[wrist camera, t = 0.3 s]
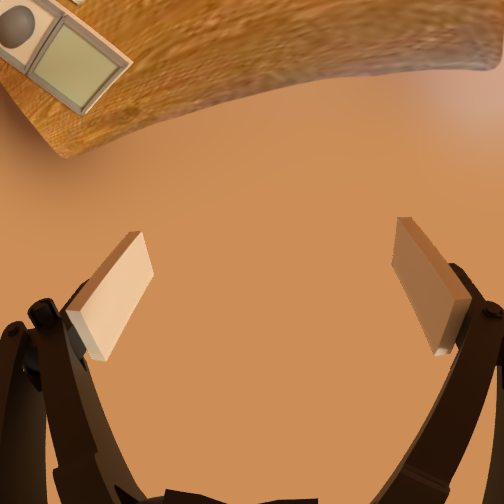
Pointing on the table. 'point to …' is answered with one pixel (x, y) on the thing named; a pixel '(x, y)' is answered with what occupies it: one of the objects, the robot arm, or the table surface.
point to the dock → (59, 52)
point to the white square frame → (79, 1)
